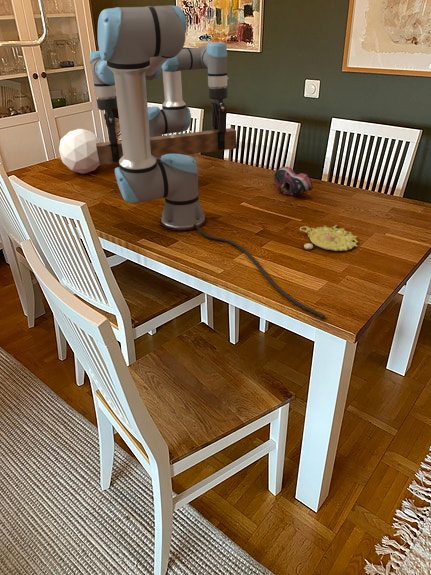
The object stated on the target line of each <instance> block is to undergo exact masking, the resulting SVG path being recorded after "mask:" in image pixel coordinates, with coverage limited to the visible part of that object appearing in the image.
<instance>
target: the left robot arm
mask: <svg viewBox="0 0 431 575" xmlns="http://www.w3.org/2000/svg"><path fill="white" fill-rule="evenodd" d="M146 7H162V8H165V9H167V10H170V11H171V12H172V13H174V14H175V15H176V16H177V17H178V18H179V19H180V21H181V23H182V25H183V27H184V30H185V34H186V33H187V29H188V28H187V19H186V16H185V13H184V11H183V10H182V8H181V7H180V6H178V5H171V4H169V5H168V4H167V5H147V6H146ZM227 47H228V46H227V44H226V42H224V41H215V42H214V41H212V42H207V45H206V46H198V47H191V48H188V47H187V48H182V50H181V51H180V52H179V53H178V54H177V55H176V56H175V57H173V58H169V59H168V60H167V61H166V62H165V63H164V64H163V65H162V66H161V71H162V81H163V95H164V101H163V103H162V104H161V108H162V109H161V108H160V106H148V119H149V132H150V137H156V136H164V135H171V134H181V132H186V131H188V130H189V128H190V127H191V122H192V115H191V114H192V113H191V110H190V108H189V106H187V104H186V102H185V101H184V100H183V87H182V72H183V71H194V70H195V71H196V70H207V86H208V98H209V99H210V100H213V101H211V103H210V104H211V122H212V128H213V130H218V132H217V134H218V150H220V151H222V150H221V149H225V132H226V129H227V115H226V114H227V107H226V106H225V103H224V100H225V99H227V98H229V92H228V91H229V89H228V81H229V76H228V48H227ZM160 159H161V158H156V162H160V161H161V160H160Z"/></svg>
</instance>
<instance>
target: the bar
mask: <svg viewBox="0 0 431 575" xmlns="http://www.w3.org/2000/svg"><path fill="white" fill-rule="evenodd" d="M217 132H218V130H214V129H212V130H202V131H193V132H184V133H173V134H164V135H162V136H156V137H150V146H151V155H153V156H154V157H155V158H161V156H162V155H165V154H182V155H187V156H188V155H195V154H202V153H211V152H219V151H228V150H236V149H237V129H235V128H233V127H229V128H226V132H225V149H221V150H218V134H217ZM117 142H118V144H117V145H118V151H119V158H120V159H121V158H122V156H123V149H122V140H118V141H117ZM109 144H110V141H104V142H101V143H96V148H97V153H98V158H99V164H100V165H99V166H104V165H105V166H106V165H112V164H119V162H113V158H112V152H111V146H109Z"/></svg>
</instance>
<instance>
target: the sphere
mask: <svg viewBox="0 0 431 575" xmlns="http://www.w3.org/2000/svg"><path fill="white" fill-rule="evenodd" d="M96 143H102V140H101V139H100V138H98V137H97V135H95V134H94V133H93V131H92V130H87V129H83V128H77V129H73V130H70V131H68V132H67V133H66V134H65V135H64V136H63V137H61V139H60V142H59V147H58V153H59V156H60V159H61V162H62V164H64V165H65V166H66V167H67V168H68V169H69V170H70V171H72V172H74V173H78V174H82V175H84V174H87V173H91V172H94V171H95V170H97V168H98V167H99V166H101V165H100V164H99V158H98V153H97V148H96Z"/></svg>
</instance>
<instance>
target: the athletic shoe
mask: <svg viewBox="0 0 431 575" xmlns="http://www.w3.org/2000/svg"><path fill="white" fill-rule="evenodd" d="M272 178H273V181H274V183H270V186H273V187H277V188H278V190H279V192H282V194H284V195H287V196H292V197H296V196H299V195H301V194H305V193H308V192H310V191H313V188H314V187H313V182H312V179H311V177H310V176H309V174H306V173H304V172H299V173H296V171H295V170H294V169H293V168H292V167H289V166H282V167H279V168H278V169H277V170H275V172H274V175H273V176H272Z"/></svg>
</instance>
